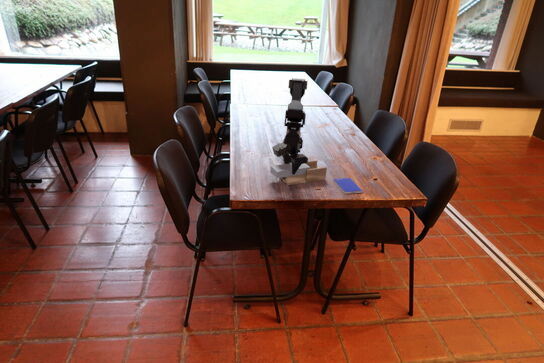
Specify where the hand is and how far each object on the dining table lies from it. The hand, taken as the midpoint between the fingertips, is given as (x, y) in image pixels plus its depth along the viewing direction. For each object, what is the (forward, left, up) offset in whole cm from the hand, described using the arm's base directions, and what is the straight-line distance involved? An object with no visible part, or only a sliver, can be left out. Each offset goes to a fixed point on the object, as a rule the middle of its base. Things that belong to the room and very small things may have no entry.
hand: (289, 171), depth 160 cm
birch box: (0, +7, -4) cm, 8 cm away
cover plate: (0, 0, -1) cm, 1 cm away
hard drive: (+14, +22, -5) cm, 26 cm away
